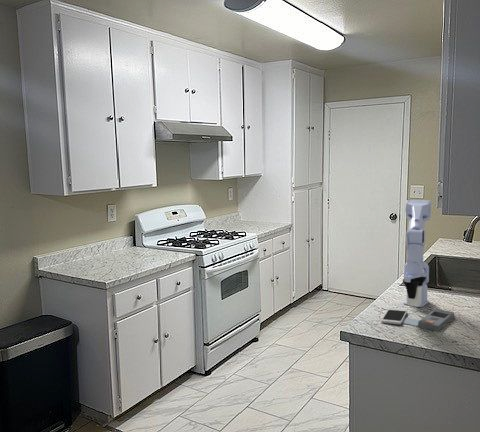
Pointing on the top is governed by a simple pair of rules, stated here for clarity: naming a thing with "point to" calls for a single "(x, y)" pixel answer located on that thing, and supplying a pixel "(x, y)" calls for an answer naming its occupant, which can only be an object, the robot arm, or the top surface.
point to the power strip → (436, 319)
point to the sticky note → (410, 321)
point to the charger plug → (417, 300)
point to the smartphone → (394, 316)
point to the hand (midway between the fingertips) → (413, 296)
